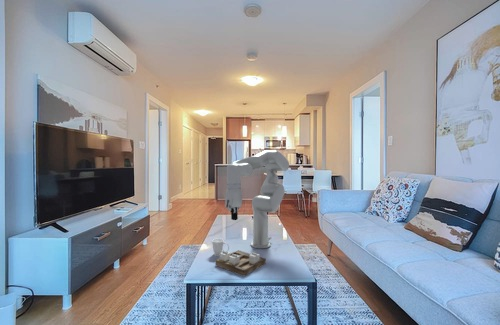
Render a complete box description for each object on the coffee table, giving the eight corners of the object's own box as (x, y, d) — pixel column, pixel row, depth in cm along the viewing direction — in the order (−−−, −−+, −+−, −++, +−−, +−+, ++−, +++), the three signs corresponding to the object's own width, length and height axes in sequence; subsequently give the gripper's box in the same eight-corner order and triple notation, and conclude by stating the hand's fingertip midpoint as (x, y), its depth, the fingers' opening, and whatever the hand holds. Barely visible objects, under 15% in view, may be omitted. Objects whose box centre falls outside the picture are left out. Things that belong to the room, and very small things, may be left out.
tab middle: (234, 261, 128) (234, 252, 128) (239, 263, 126) (239, 254, 126) (229, 264, 125) (229, 254, 125) (234, 266, 123) (234, 256, 123)
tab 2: (254, 260, 130) (254, 251, 130) (259, 262, 128) (259, 252, 128) (249, 262, 127) (249, 253, 127) (254, 264, 125) (254, 255, 125)
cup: (213, 251, 147) (213, 238, 147) (230, 252, 146) (230, 239, 145) (210, 256, 140) (210, 241, 140) (227, 257, 139) (227, 242, 139)
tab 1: (225, 258, 132) (225, 249, 132) (230, 260, 130) (230, 251, 130) (219, 261, 129) (220, 251, 129) (224, 262, 127) (224, 253, 127)
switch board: (238, 254, 142) (238, 249, 142) (265, 263, 131) (265, 258, 130) (215, 265, 128) (215, 259, 128) (243, 276, 116) (243, 269, 116)
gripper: (237, 184, 145) (237, 215, 146) (219, 187, 133) (220, 221, 133) (247, 185, 141) (247, 217, 141) (230, 188, 128) (231, 223, 129)
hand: (234, 219), depth 137 cm, fingers closed
